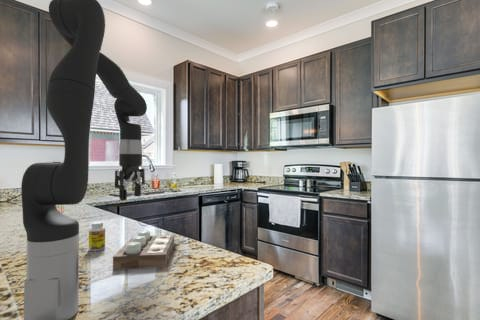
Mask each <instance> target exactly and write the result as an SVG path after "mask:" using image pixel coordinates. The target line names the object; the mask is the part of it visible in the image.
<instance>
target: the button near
mask: <svg viewBox="0 0 480 320" xmlns="http://www.w3.org/2000/svg"><path fill="white" fill-rule="evenodd" d="M125 244H126V243H125ZM140 253H141V243H140V242H131V243H128V244H126V255H132V254H140Z"/></svg>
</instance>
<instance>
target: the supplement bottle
mask: <svg viewBox="0 0 480 320" xmlns="http://www.w3.org/2000/svg"><path fill="white" fill-rule="evenodd" d="M105 248H106V227H105V226H104V222H103V221H94V222H91V228H89V229H88V250H89V251H91V252H98V251H103V250H104V249H105Z"/></svg>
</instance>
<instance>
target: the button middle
mask: <svg viewBox="0 0 480 320" xmlns="http://www.w3.org/2000/svg"><path fill="white" fill-rule="evenodd" d="M132 237H133V236H132ZM132 237H131V238H132ZM132 242H140V243H141V247H145V246H146V237H145V236H138V235H136V237H133V238H132Z"/></svg>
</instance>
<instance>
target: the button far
mask: <svg viewBox="0 0 480 320" xmlns="http://www.w3.org/2000/svg"><path fill="white" fill-rule="evenodd" d="M137 236H145V237H146V241H150V236H151V231H150V230H140V231H137Z"/></svg>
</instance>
